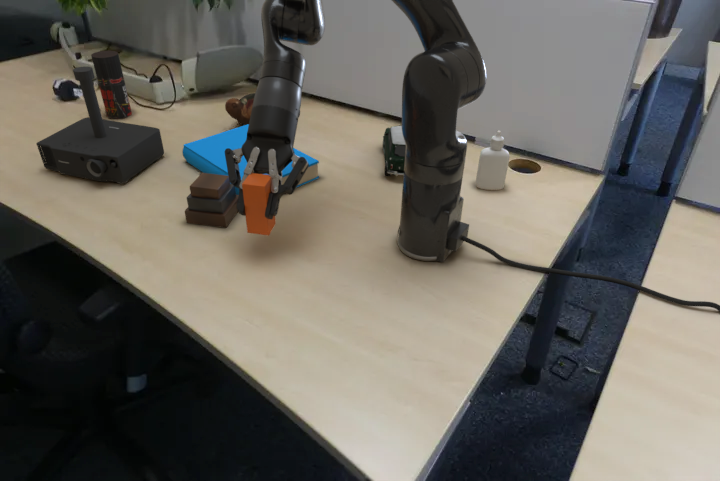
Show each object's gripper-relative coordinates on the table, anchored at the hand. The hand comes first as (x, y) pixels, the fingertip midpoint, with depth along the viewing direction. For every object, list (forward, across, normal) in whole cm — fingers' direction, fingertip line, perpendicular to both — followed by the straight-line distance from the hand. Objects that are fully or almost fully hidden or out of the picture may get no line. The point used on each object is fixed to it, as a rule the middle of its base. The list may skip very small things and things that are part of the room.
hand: (256, 215), depth 85 cm
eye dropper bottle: (-18, +37, +29) cm, 50 cm away
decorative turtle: (-30, -19, +42) cm, 55 cm away
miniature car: (-22, +19, +34) cm, 45 cm away
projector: (-11, -43, +23) cm, 50 cm away
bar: (+1, 0, +4) cm, 4 cm away
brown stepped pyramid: (-2, -12, +14) cm, 18 cm away
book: (-14, -12, +26) cm, 32 cm away
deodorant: (-29, -55, +41) cm, 74 cm away
